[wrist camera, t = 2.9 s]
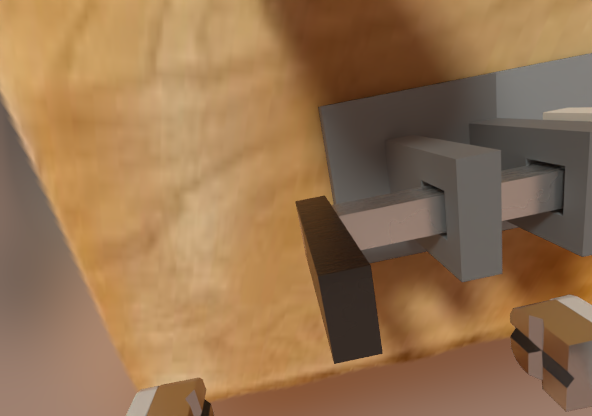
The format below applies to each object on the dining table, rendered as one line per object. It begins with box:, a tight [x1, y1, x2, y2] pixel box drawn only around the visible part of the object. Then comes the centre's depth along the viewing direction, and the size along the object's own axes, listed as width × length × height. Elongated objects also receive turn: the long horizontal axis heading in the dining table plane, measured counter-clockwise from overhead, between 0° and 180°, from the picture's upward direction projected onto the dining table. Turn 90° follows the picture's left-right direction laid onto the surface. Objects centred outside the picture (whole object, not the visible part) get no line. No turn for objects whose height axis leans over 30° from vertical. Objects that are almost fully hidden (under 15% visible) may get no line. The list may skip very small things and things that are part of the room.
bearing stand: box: [318, 73, 592, 282], centre depth 21 cm, size 12×12×10 cm
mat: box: [494, 53, 592, 231], centre depth 26 cm, size 13×12×1 cm
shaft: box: [296, 162, 565, 364], centre depth 15 cm, size 23×3×8 cm, turn 101°
